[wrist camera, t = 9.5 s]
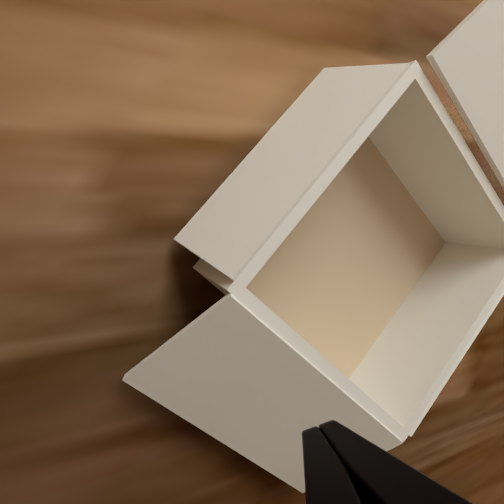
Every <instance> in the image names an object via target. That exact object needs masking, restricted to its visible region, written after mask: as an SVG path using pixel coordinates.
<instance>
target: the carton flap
mask: <svg viewBox="0 0 504 504" xmlns="http://www.w3.org/2000/svg"><path fill="white" fill-rule="evenodd" d="M426 58H427V59H428V61H429V63H430V65H431V66H432V68H433V70H434V71H435V73H436V75H437V77H438V78H439V80H440V82H441V83H442V85H443V87H444V88H445V90H446V92H447V94H448V95H449V97H450V99H451V100H452V102H453V104H454V106H455V107H456V109H457V111H458V112H459V114H460V116H461V117H462V119H463V121H464V123H465V124H466V126H467V128H468V129H469V131H470V133H471V134H472V136H473V138H474V140H475V141H476V143H477V145H478V146H479V148H480V150H481V152H482V153H483V155H484V157H485V158H486V160H487V162H488V163H489V165H490V167H491V169H492V170H493V172H494V174H495V175H496V177H497V179H498V181H499V182H500V184H501V186H502V187H503V189H504V0H483V1H482V2H481V3H480V4H479V5H478V6H477V7H476V8H475V9H474V10H473V11H472V12H471V13H470V14H469V15H468V16H467V17H466V18H465V19H464V20H463V21H462V22H461V23H460V24H459V25H458V26H457V27H456V28H455V29H454V30H453V31H452V32H451V33H450V34H449V35H448V36H447V37H446V38H444V39H443V40H442V41H441V42H440V43H439V44H438V45H437V46H436V47H435V48H434V49H433V50H432V51H431V52H430V53H429V54H428V55H427V56H426Z"/></svg>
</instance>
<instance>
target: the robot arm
mask: <svg viewBox="0 0 504 504" xmlns="http://www.w3.org/2000/svg"><path fill="white" fill-rule="evenodd" d="M302 447H303V462H304V478H305V494H306V504H472V503H471V502H469V501H467V500H466V499H464V498H462V497H461V496H459V495H457V494H456V493H454V492H452V491H451V490H449V489H448V488H446V487H444V486H443V485H441V484H439V483H438V482H436V481H434V480H433V479H431V478H429V477H428V476H426V475H424V474H423V473H421V472H420V471H418V470H416V469H415V468H413V467H411V466H410V465H408V464H406V463H405V462H403V461H401V460H400V459H398V458H396V457H395V456H393V455H392V454H390V453H388V452H387V451H385V450H383V449H382V448H380V447H378V446H377V445H375V444H373V443H372V442H370V441H368V440H367V439H365V438H364V437H362V436H360V435H359V434H357V433H355V432H354V431H352V430H350V429H349V428H347V427H345V426H344V425H342V424H340V423H339V422H337V421H335V420H330V421H327V422H325V423H322V424H320V425H319V427H317V426H314V427H311V428H309V429H306V430H304V431H302Z"/></svg>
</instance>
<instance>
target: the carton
mask: <svg viewBox="0 0 504 504" xmlns="http://www.w3.org/2000/svg"><path fill="white" fill-rule="evenodd" d="M174 240H176V241H177V242H178V243H179V244H181V245H182V246H183V247H185V248H186V249H188V250H189V251H191V252H192V253H193V254H195V255H196V256H198V257H199V258H200V259H199V260H198V261H197V263H196V264H195V265H194V266H193V268H194V269H195V270H196V271H197V272H198V273H200V274H201V275H202V276H203V277H204V278H206V279H207V280H208V281H209V282H210V283H211V284H213V285H214V286H215V287H216V288H217V289H219V290H220V291H221V292H222V293H223V294H224V295H225V296H224V297H223V298H222V299H220V300H219V301H218V302H216V303H215V304H214V305H213V306H211V307H210V308H209V309H207V310H206V311H205V312H204V313H202V314H201V315H200V316H199V317H197V318H196V319H195V320H193V321H192V322H191V323H190V324H188V325H187V326H186V327H185V328H183V329H182V330H181V331H179V332H178V333H177V334H176V335H174V336H173V337H172V338H170V339H169V340H168V341H167V342H165V343H164V344H163V345H162V346H160V347H159V348H158V349H156V350H155V351H154V352H153V353H151V354H150V355H149V356H148V357H146V358H145V359H144V360H142V361H141V362H140V363H139V364H137V365H136V366H135V367H133V368H132V369H131V370H130V371H128V372H127V373H126V374H125V375H124V377H123V381H124V382H126V383H127V384H129V385H131V386H132V387H134V388H135V389H137V390H139V391H140V392H142V393H143V394H145V395H147V396H148V397H150V398H151V399H153V400H154V401H156V402H158V403H159V404H161V405H162V406H164V407H166V408H167V409H169V410H170V411H172V412H174V413H175V414H177V415H178V416H180V417H182V418H183V419H185V420H186V421H188V422H190V423H191V424H193V425H194V426H196V427H198V428H199V429H201V430H202V431H204V432H206V433H207V434H209V435H210V436H212V437H214V438H215V439H217V440H218V441H220V442H222V443H223V444H225V445H226V446H228V447H230V448H231V449H233V450H234V451H236V452H238V453H239V454H241V455H242V456H244V457H246V458H247V459H249V460H250V461H252V462H254V463H255V464H257V465H258V466H260V467H262V468H263V469H265V470H266V471H268V472H270V473H271V474H273V475H274V476H276V477H278V478H279V479H281V480H282V481H284V482H286V483H287V484H289V485H290V486H292V487H294V488H295V489H297V490H298V491H300V492H302V493H304V492H305V478H304V462H303V447H302V431H304V430H306V429H309V428H311V427H314V426H317V427H319V425H320V424H322V423H325V422H327V421H330V420H335V421H337V422H339V423H340V424H342V425H344V426H345V427H347V428H349V429H350V430H352V431H354V432H355V433H357V434H359V435H360V436H362V437H364V438H365V439H367V440H368V441H370V442H372V443H373V444H375V445H377V446H378V447H380V448H382V449H383V450H385V451H388V450H390V449H392V448H394V447H396V446H398V445H400V444H402V443H403V441H405V440H406V438H407V437H408V435H409V436H412V435H413V433H414V432H415V430H416V429H417V427H418V426H419V424H420V423H421V421H422V419H423V418H424V416H425V415H426V413H427V412H428V410H429V409H430V407H431V406H432V404H433V403H434V401H435V400H436V398H437V396H438V395H439V393H440V392H441V390H442V389H443V387H444V386H445V384H446V383H447V381H448V380H449V378H450V377H451V375H452V373H453V372H454V370H455V369H456V367H457V366H458V364H459V363H460V361H461V360H462V358H463V357H464V355H465V353H466V352H467V350H468V349H469V347H470V346H471V344H472V343H473V341H474V340H475V338H476V337H477V335H478V334H479V332H480V330H481V329H482V327H483V326H484V324H485V323H486V321H487V320H488V318H489V317H490V315H491V314H492V312H493V311H494V309H495V307H496V306H497V304H498V303H499V301H500V300H501V298H502V297H503V295H504V206H503V204H502V202H501V201H500V199H499V197H498V196H497V194H496V192H495V191H494V189H493V187H492V186H491V184H490V182H489V181H488V179H487V177H486V176H485V174H484V172H483V171H482V169H481V167H480V166H479V164H478V162H477V161H476V159H475V157H474V156H473V154H472V152H471V151H470V149H469V147H468V146H467V144H466V142H465V141H464V139H463V137H462V136H461V134H460V132H459V131H458V129H457V127H456V126H455V124H454V122H453V121H452V119H451V117H450V116H449V114H448V112H447V111H446V109H445V107H444V106H443V104H442V102H441V101H440V99H439V97H438V96H437V94H436V92H435V91H434V89H433V87H432V86H431V84H430V82H429V81H428V79H427V77H426V76H425V74H424V72H423V71H422V69H421V67H420V66H419V64H418V63H417V61H416V60H414V61H412V62H410V63H401V64H384V65H366V66H349V67H331V68H324V69H323V70H322V71H321V72H320V73H319V74H318V75H317V77H316V78H315V79H314V80H313V81H312V82H311V83H310V85H309V86H308V87H307V88H306V89H305V90H304V91H303V93H302V94H301V95H300V96H299V97H298V98H297V99H296V100H295V102H294V103H293V104H292V105H291V106H290V107H289V108H288V110H287V111H286V112H285V113H284V114H283V115H282V116H281V118H280V119H279V120H278V121H277V122H276V123H275V124H274V125H273V127H272V128H271V129H270V130H269V131H268V132H267V133H266V135H265V136H264V137H263V138H262V139H261V140H260V141H259V143H258V144H257V145H256V146H255V147H254V148H253V149H252V150H251V152H250V153H249V154H248V155H247V156H246V157H245V158H244V160H243V161H242V162H241V163H240V164H239V165H238V166H237V168H236V169H235V170H234V171H233V172H232V173H231V174H230V175H229V177H228V178H227V179H226V180H225V181H224V182H223V183H222V185H221V186H220V187H219V188H218V189H217V190H216V191H215V193H214V194H213V195H212V196H211V197H210V198H209V199H208V200H207V202H206V203H205V204H204V205H203V206H202V207H201V208H200V210H199V211H198V212H197V213H196V214H195V215H194V216H193V218H192V219H191V220H190V221H189V222H188V223H187V224H186V225H185V227H184V228H183V229H182V230H181V231H180V232H179V233H178V235H177V236H176V237H175V238H174Z"/></svg>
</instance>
